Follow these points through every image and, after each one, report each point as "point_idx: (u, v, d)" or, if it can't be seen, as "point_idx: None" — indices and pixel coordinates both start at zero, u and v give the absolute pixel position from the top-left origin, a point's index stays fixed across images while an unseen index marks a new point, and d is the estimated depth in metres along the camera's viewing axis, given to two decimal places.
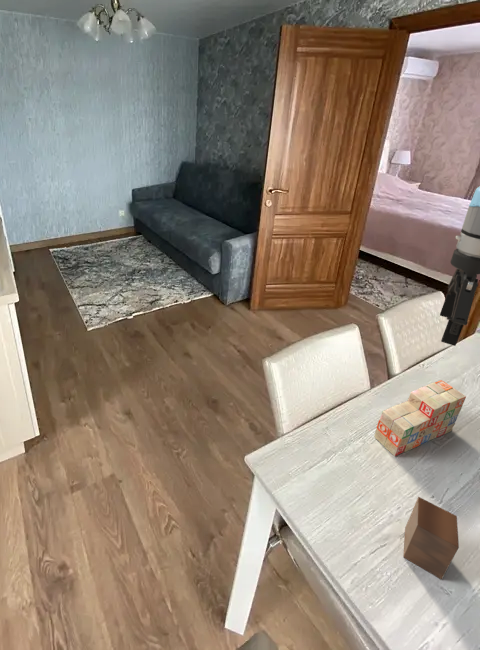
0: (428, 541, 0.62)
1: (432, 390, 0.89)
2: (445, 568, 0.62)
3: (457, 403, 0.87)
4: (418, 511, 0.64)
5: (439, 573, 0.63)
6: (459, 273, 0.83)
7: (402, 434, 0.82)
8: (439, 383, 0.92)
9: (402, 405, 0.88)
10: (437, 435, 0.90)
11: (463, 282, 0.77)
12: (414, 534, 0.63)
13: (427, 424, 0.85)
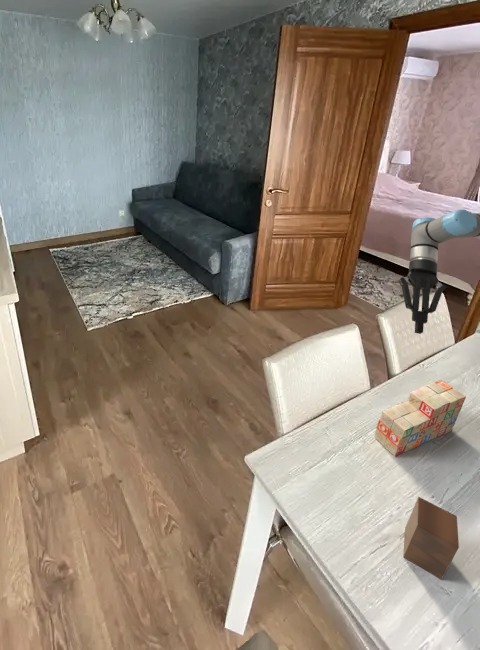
0: (428, 541, 0.62)
1: (432, 390, 0.89)
2: (445, 568, 0.62)
3: (457, 403, 0.87)
4: (418, 511, 0.64)
5: (439, 573, 0.63)
6: None
7: (402, 434, 0.82)
8: (439, 383, 0.92)
9: (402, 405, 0.88)
10: (437, 435, 0.90)
11: None
12: (414, 534, 0.63)
13: (427, 424, 0.85)
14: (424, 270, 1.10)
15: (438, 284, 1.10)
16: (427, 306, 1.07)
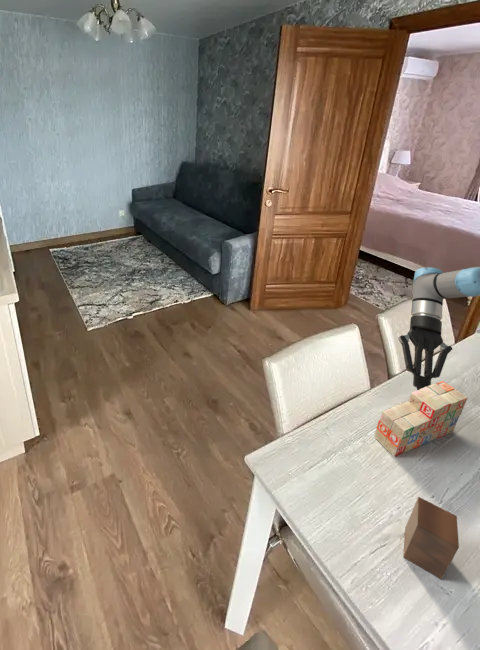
0: (428, 541, 0.62)
1: (433, 390, 0.89)
2: (445, 568, 0.62)
3: (458, 404, 0.87)
4: (418, 511, 0.64)
5: (439, 573, 0.63)
6: None
7: (402, 434, 0.82)
8: (441, 384, 0.91)
9: (403, 405, 0.88)
10: (438, 436, 0.89)
11: None
12: (414, 534, 0.63)
13: (427, 425, 0.85)
14: (427, 329, 0.99)
15: (443, 345, 0.98)
16: (430, 371, 0.96)
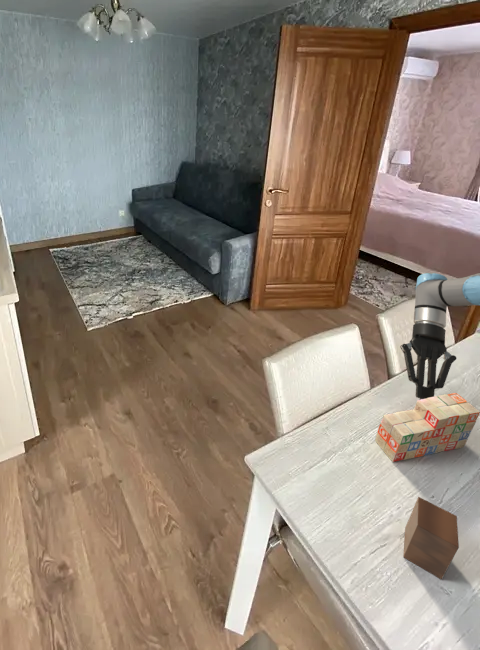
0: (428, 541, 0.62)
1: (442, 401, 0.86)
2: (445, 568, 0.62)
3: (469, 417, 0.83)
4: (418, 511, 0.64)
5: (439, 573, 0.63)
6: None
7: (400, 440, 0.81)
8: (453, 395, 0.88)
9: (407, 412, 0.86)
10: (445, 449, 0.86)
11: None
12: (414, 534, 0.63)
13: (431, 434, 0.82)
14: (430, 337, 0.95)
15: (446, 354, 0.95)
16: (433, 381, 0.92)
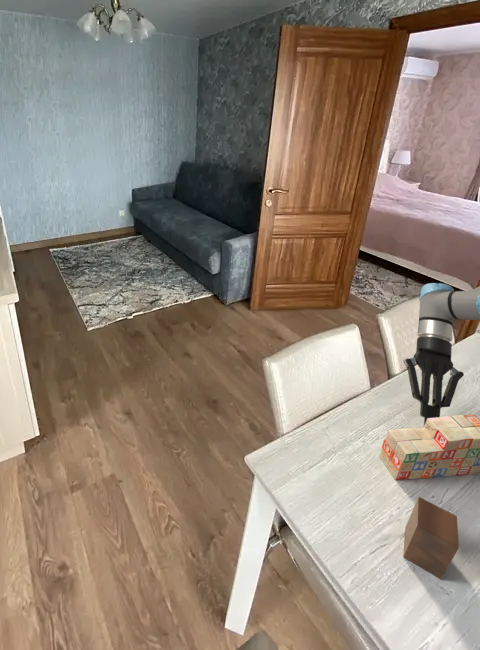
0: (428, 541, 0.62)
1: (456, 421, 0.80)
2: (445, 568, 0.62)
3: None
4: (418, 511, 0.64)
5: (439, 573, 0.63)
6: None
7: (403, 457, 0.77)
8: (470, 417, 0.81)
9: (415, 430, 0.81)
10: (457, 473, 0.80)
11: None
12: (414, 534, 0.63)
13: (440, 456, 0.77)
14: (435, 352, 0.90)
15: (453, 370, 0.89)
16: (439, 399, 0.87)
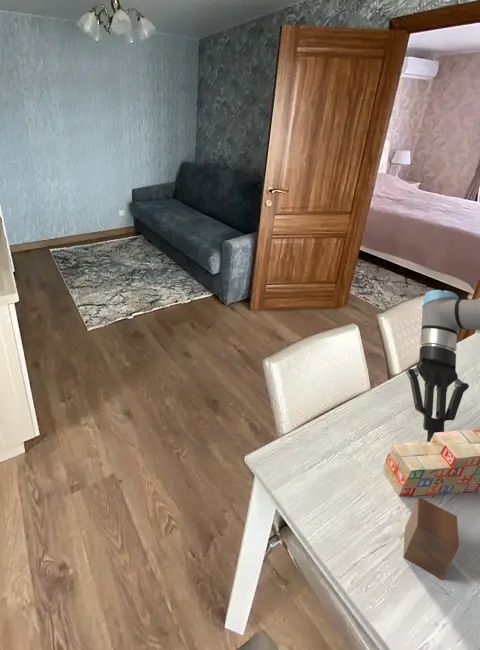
0: (428, 541, 0.62)
1: (464, 437, 0.76)
2: (445, 568, 0.62)
3: None
4: (418, 511, 0.64)
5: (439, 573, 0.63)
6: None
7: (408, 474, 0.73)
8: None
9: (421, 444, 0.78)
10: (465, 490, 0.77)
11: None
12: (414, 534, 0.63)
13: (447, 472, 0.74)
14: (439, 362, 0.86)
15: (457, 381, 0.85)
16: (443, 412, 0.83)
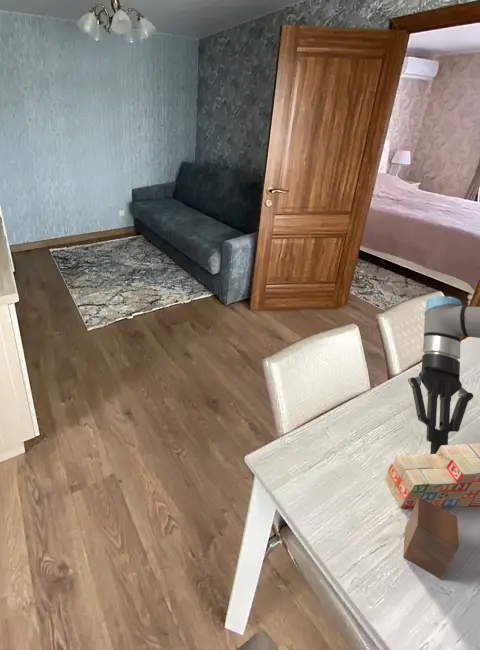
0: (428, 541, 0.62)
1: (473, 451, 0.73)
2: (445, 568, 0.62)
3: None
4: (418, 511, 0.64)
5: (439, 573, 0.63)
6: None
7: (411, 488, 0.70)
8: None
9: (426, 456, 0.75)
10: (470, 504, 0.74)
11: None
12: (414, 534, 0.63)
13: (452, 487, 0.71)
14: (443, 371, 0.83)
15: (462, 391, 0.82)
16: (447, 423, 0.80)
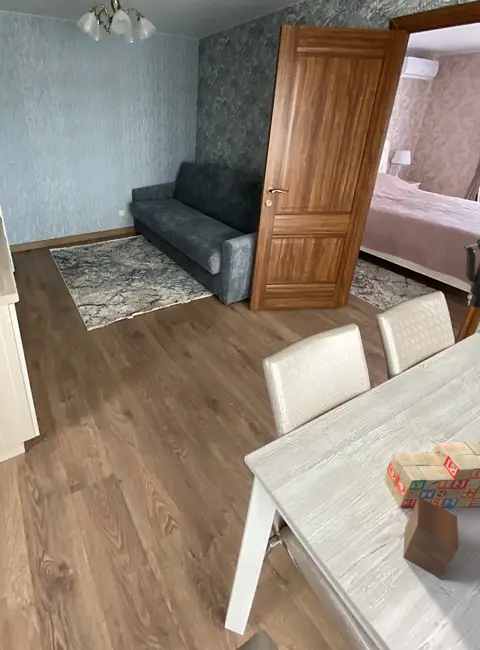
0: (428, 541, 0.62)
1: (469, 448, 0.74)
2: (445, 568, 0.62)
3: None
4: (418, 511, 0.64)
5: (439, 573, 0.63)
6: None
7: (409, 484, 0.71)
8: None
9: (423, 454, 0.76)
10: (470, 504, 0.74)
11: None
12: (414, 534, 0.63)
13: (450, 484, 0.71)
14: None
15: None
16: None
